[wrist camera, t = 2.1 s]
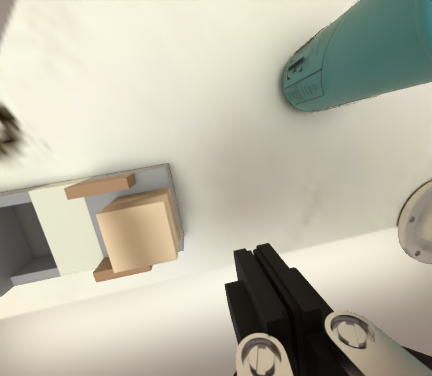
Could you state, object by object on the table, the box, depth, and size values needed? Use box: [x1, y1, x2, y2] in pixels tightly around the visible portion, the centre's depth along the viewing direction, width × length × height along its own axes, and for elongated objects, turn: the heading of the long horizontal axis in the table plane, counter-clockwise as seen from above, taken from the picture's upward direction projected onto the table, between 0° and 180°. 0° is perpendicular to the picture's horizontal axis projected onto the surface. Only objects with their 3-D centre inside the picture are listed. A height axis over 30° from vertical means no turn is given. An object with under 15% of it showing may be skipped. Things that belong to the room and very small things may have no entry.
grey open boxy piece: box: [0, 163, 184, 297], centre depth 21 cm, size 18×9×6 cm, turn 99°
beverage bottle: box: [283, 0, 432, 113], centre depth 14 cm, size 6×7×20 cm
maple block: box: [96, 187, 180, 273], centre depth 19 cm, size 5×5×5 cm
